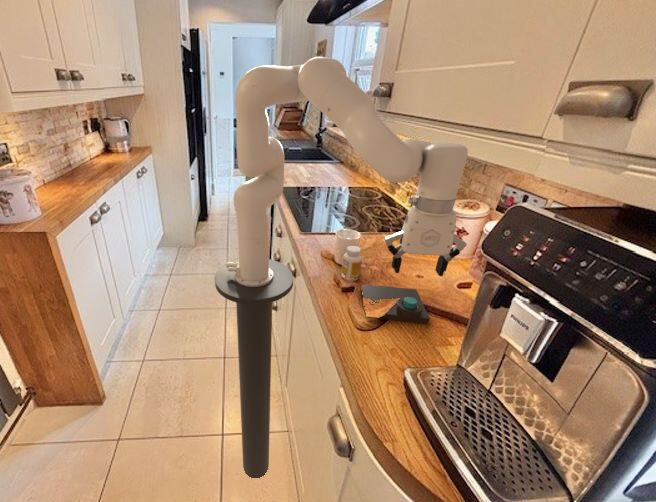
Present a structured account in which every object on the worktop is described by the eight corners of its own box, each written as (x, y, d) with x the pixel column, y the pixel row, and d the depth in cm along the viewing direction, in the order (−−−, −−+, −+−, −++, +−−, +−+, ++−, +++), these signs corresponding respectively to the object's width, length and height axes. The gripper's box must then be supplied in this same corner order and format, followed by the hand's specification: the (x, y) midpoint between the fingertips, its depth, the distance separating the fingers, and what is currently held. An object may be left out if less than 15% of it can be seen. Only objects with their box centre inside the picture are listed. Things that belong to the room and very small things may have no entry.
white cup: (347, 253, 114) (351, 227, 109) (361, 264, 107) (366, 236, 103) (328, 257, 111) (331, 231, 107) (341, 268, 105) (345, 240, 100)
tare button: (404, 309, 81) (405, 303, 80) (401, 301, 84) (403, 296, 83) (417, 310, 81) (418, 304, 80) (414, 303, 83) (415, 297, 82)
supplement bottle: (360, 274, 102) (364, 246, 97) (356, 283, 97) (361, 254, 93) (343, 270, 104) (346, 243, 99) (338, 278, 99) (342, 250, 95)
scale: (365, 318, 83) (367, 307, 81) (360, 289, 94) (362, 279, 93) (428, 325, 80) (432, 314, 79) (414, 294, 92) (417, 283, 90)
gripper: (395, 207, 68) (381, 277, 76) (485, 211, 65) (462, 283, 73) (388, 196, 75) (377, 261, 83) (470, 199, 72) (450, 266, 80)
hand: (417, 271), depth 78 cm, fingers open, 9 cm apart
